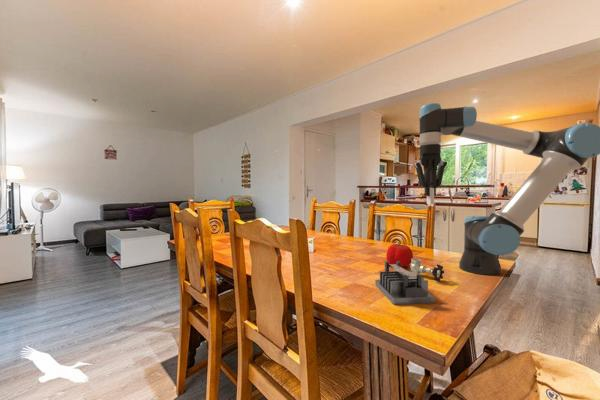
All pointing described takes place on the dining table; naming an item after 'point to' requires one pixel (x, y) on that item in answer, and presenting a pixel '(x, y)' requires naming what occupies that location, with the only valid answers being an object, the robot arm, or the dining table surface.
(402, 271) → the grey long bar
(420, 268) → the valve
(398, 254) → the tomato
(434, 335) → the dining table surface
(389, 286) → the heatsink
